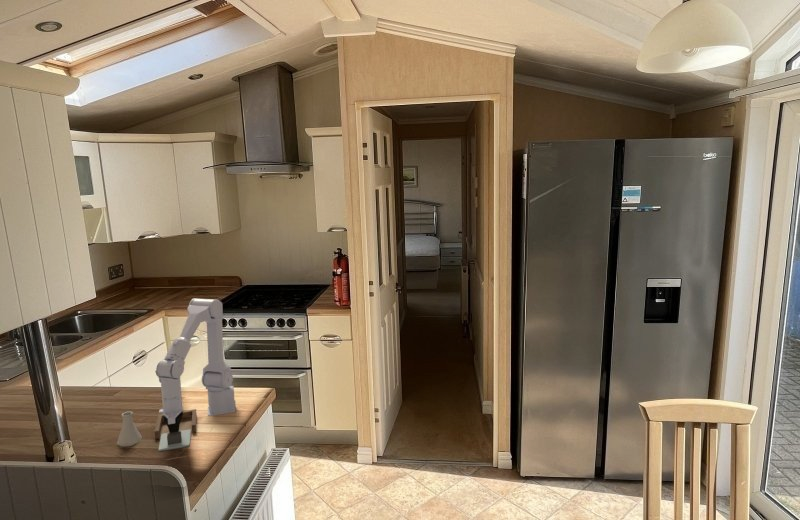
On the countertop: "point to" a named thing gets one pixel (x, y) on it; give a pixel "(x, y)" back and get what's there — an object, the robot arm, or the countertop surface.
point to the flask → (128, 431)
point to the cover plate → (184, 441)
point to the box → (185, 424)
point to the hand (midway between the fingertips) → (174, 435)
